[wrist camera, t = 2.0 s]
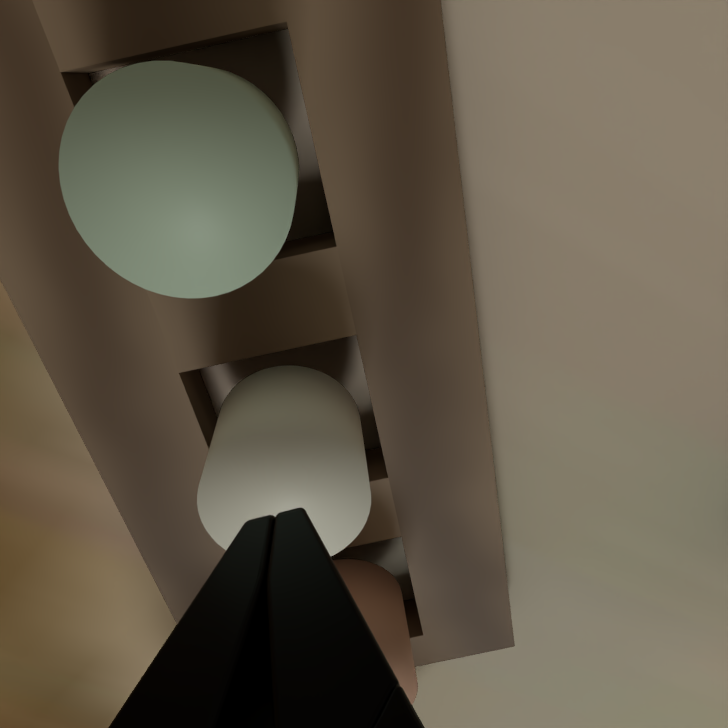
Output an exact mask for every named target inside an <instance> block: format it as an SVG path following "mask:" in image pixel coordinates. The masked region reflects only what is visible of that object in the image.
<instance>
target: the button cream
mask: <svg viewBox="0 0 728 728" xmlns="http://www.w3.org/2000/svg"><path fill="white" fill-rule="evenodd" d="M197 507H198V513H199V516H200V519H201V522H202V523H203V525H204V527H205V529H206V531H207V532H208V533H209V535H210V536H211V537H212V538H213V539H214V541H215V542H216V543H217V544H218V545H220V546H221V547H222V548H223V549H225V550H227V549H228V547H229V546H230V544H231V543H232V541H233V540H234V538H235V537H236V535H237V534H238V532H239V531H240V529H241V527H242V526H243V525H244V523H245V522H247V521H248V520H250V519H255V518H259V517H263V516H267V515H273V516H275V517H276V515H277V514H278V513H280V512H283V511H287V510H291V509H295V508H300V507H301V508H304V509H305V510H306V512H307V514H308V516H309V518H310V519H311V521H312V523H313V525H314V527H315V529H316V530H317V532H318V534H319V536H320V538H321V540H322V541H323V543H324V545H325V547H326V549H327V551H328V552H329V554H330V556H333V555H335V554H337V553H338V552H340V551H341V550H343V549H344V548H345V547H347V546H348V545H349V544H350V543H351V542H352V541H353V540H354V539H355V538H356V537H357V536H358V534H359V533H360V532H361V530H362V529H363V527H364V525H365V523H366V521H367V518H368V516H369V513H370V507H371V490H370V483H369V476H368V469H367V462H366V455H365V448H364V441H363V434H362V427H361V420H360V414H359V411H358V408H357V405H356V403H355V401H354V399H353V398H352V396H351V395H350V393H349V392H348V391H347V390H346V389H345V388H344V386H343V385H341V384H340V383H339V382H338V381H337V380H335V379H334V378H332V377H330V376H329V375H327V374H325V373H323V372H321V371H318V370H315V369H312V368H308V367H303V366H293V365H286V366H276V367H270V368H267V369H263V370H260V371H258V372H255V373H253V374H251V375H250V376H248V377H246V378H245V379H243V380H242V381H241V382H239V383H238V384H237V385H236V386H235V387H234V388H233V389H232V390H231V391H230V393H229V394H228V395H227V397H226V399H225V400H224V402H223V404H222V407H221V410H220V413H219V416H218V420H217V423H216V427H215V430H214V434H213V437H212V441H211V444H210V448H209V451H208V455H207V458H206V462H205V465H204V469H203V472H202V476H201V479H200V483H199V487H198V493H197Z"/></svg>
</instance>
